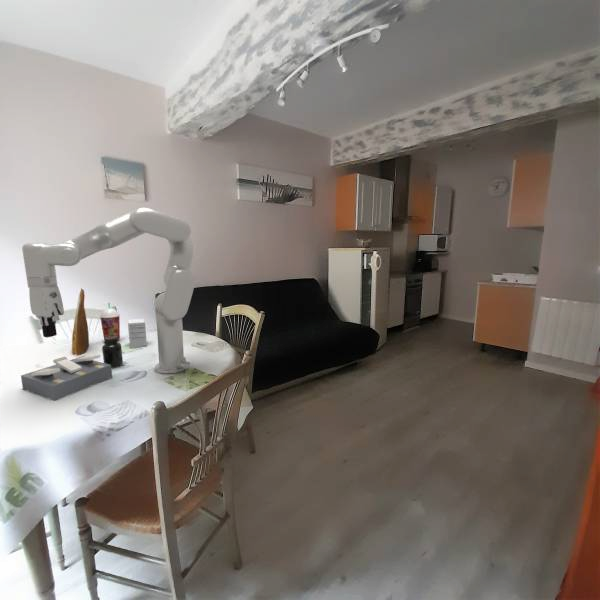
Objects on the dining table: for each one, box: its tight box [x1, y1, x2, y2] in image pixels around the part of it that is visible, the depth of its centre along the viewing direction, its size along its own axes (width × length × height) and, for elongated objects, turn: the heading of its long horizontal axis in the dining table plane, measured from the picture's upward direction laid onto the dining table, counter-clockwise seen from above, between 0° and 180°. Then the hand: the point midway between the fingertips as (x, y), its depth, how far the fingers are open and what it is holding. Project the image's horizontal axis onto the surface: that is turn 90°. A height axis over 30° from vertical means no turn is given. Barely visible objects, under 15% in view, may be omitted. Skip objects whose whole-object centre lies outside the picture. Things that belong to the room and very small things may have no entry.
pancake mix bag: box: [71, 288, 90, 356], centre depth 147 cm, size 7×19×28 cm, turn 25°
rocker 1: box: [31, 367, 60, 376], centre depth 109 cm, size 10×4×1 cm, turn 66°
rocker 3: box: [73, 354, 101, 362], centre depth 122 cm, size 10×4×1 cm, turn 66°
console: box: [20, 356, 113, 401], centre depth 116 cm, size 18×20×6 cm
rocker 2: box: [53, 356, 82, 373], centre depth 115 cm, size 10×4×1 cm, turn 66°
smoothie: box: [99, 302, 121, 342], centre depth 160 cm, size 8×8×20 cm
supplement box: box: [127, 318, 148, 349], centre depth 156 cm, size 7×7×13 cm
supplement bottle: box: [101, 336, 124, 369], centre depth 132 cm, size 7×7×12 cm
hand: (50, 336), depth 107 cm, fingers closed
